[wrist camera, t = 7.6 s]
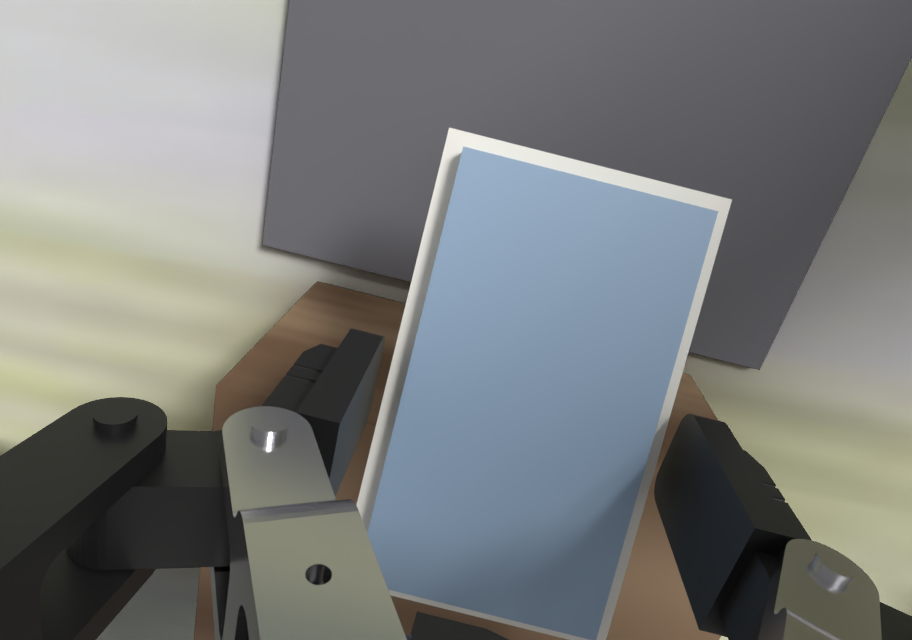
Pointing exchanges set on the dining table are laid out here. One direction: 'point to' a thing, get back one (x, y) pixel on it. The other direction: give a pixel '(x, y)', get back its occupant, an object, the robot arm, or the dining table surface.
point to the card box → (533, 383)
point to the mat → (588, 121)
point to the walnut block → (327, 322)
